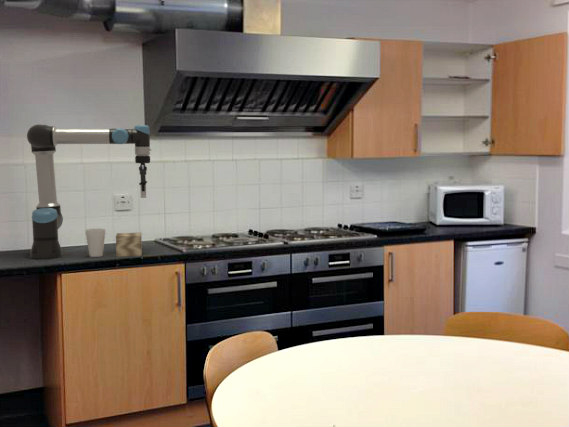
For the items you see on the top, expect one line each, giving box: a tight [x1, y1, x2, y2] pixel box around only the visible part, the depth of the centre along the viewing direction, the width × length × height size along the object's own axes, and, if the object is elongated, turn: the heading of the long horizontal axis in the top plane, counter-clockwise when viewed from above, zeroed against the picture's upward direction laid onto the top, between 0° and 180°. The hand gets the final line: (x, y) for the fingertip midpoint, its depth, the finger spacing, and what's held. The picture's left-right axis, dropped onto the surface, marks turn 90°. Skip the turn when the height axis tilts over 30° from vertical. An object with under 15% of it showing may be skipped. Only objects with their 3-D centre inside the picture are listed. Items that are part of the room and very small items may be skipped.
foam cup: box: [84, 228, 106, 258], centre depth 359 cm, size 10×9×13 cm
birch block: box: [115, 232, 143, 258], centre depth 363 cm, size 12×12×10 cm
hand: (143, 196), depth 376 cm, fingers open, 13 cm apart
